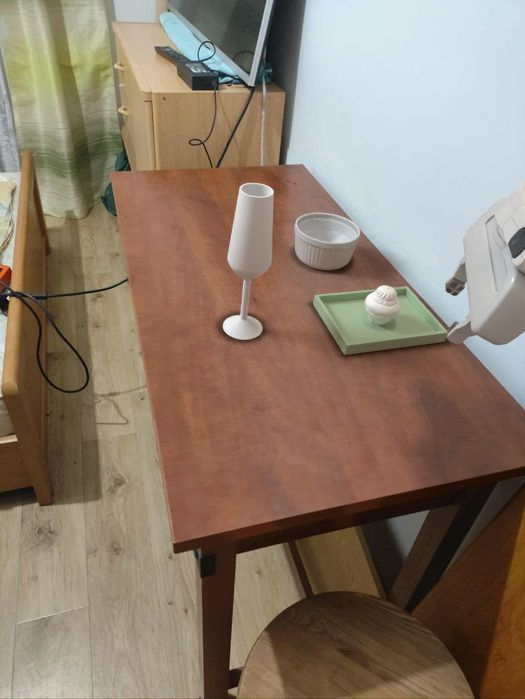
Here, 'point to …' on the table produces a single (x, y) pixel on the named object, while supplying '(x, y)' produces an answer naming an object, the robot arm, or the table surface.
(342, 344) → the tray
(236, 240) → the champagne flute
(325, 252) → the ramekin
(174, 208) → the table surface
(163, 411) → the table surface
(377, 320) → the muffin
